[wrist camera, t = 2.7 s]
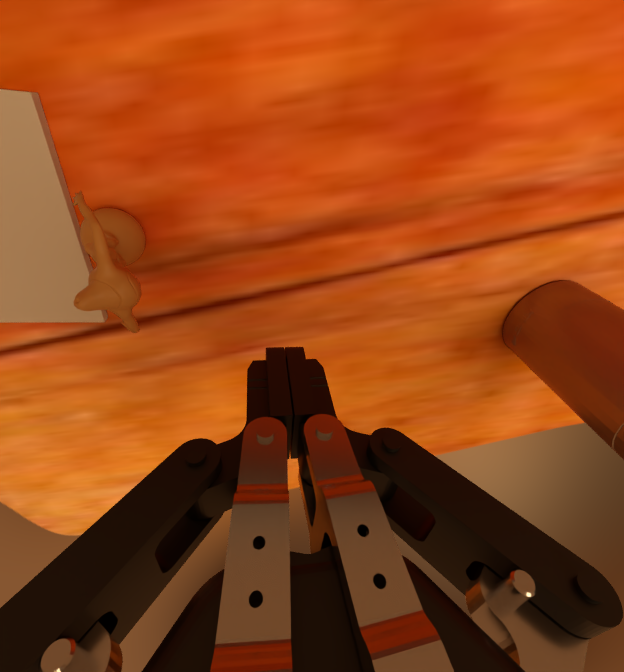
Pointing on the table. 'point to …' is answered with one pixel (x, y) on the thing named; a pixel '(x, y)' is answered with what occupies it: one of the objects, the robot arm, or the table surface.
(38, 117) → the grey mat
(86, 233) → the figurine
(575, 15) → the table surface
